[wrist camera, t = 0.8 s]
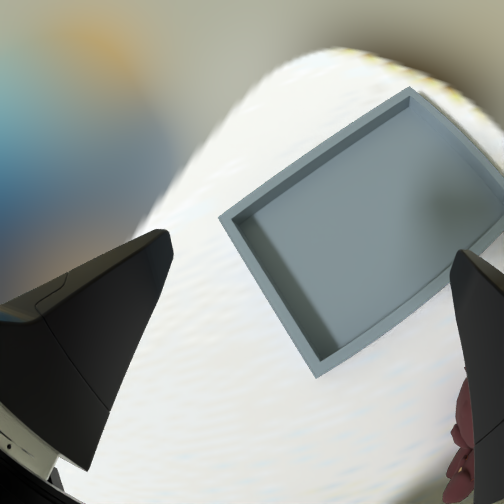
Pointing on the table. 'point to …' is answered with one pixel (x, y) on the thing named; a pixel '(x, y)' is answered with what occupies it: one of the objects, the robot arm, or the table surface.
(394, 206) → the tray
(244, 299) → the table surface
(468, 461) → the icecream
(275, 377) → the table surface
